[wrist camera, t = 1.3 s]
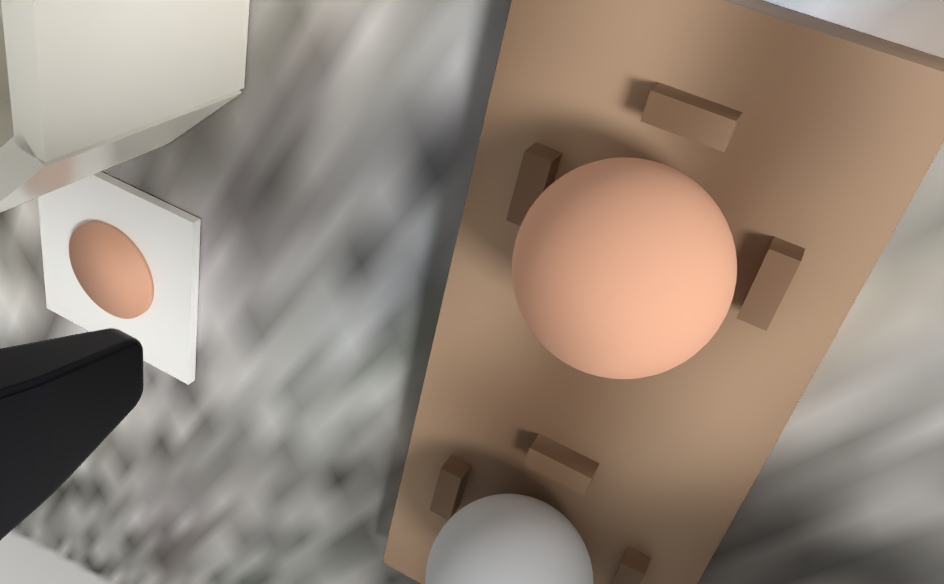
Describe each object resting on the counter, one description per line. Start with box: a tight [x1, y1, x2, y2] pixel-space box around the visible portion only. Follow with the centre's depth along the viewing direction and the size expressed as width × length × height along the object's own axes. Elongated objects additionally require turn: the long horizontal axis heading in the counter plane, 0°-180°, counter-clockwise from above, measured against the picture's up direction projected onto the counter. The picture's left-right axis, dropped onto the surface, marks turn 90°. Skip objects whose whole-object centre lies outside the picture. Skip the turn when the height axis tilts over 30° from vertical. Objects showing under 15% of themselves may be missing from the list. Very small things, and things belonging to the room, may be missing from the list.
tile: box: [38, 172, 201, 385], centre depth 26 cm, size 6×6×1 cm
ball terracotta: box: [512, 157, 737, 379], centre depth 16 cm, size 4×4×4 cm
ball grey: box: [425, 494, 593, 584], centre depth 21 cm, size 4×4×4 cm
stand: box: [383, 0, 944, 584], centre depth 20 cm, size 8×18×2 cm, turn 167°
